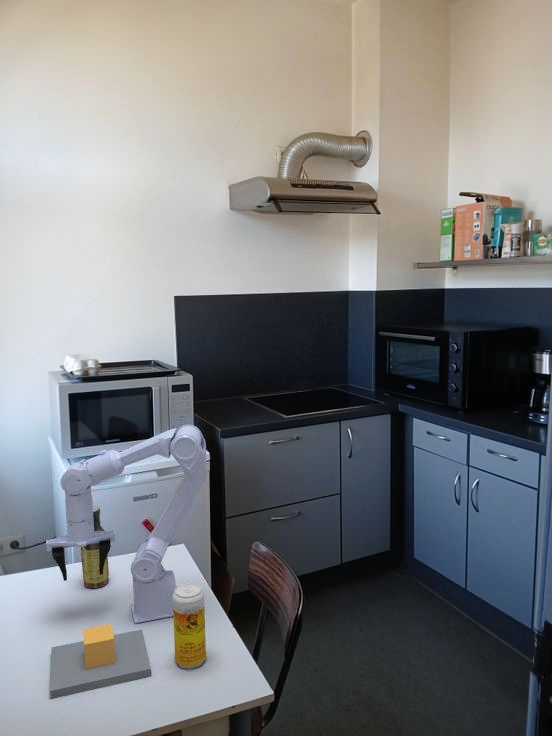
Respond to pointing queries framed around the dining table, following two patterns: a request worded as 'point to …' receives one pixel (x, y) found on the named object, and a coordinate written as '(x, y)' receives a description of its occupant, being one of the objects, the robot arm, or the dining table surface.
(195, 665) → the beer can
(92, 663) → the orange cube
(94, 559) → the sauce bottle
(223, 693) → the dining table surface
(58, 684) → the post board
